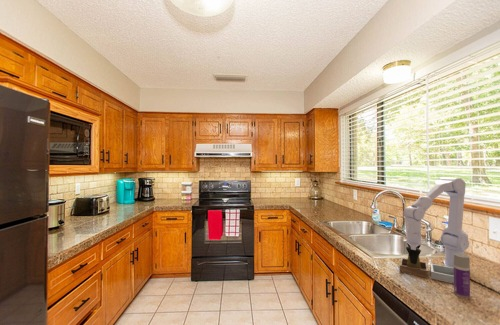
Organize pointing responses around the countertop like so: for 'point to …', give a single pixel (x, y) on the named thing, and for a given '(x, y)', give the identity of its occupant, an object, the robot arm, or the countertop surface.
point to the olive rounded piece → (414, 264)
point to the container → (461, 275)
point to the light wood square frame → (414, 270)
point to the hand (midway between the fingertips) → (413, 260)
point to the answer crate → (440, 275)
